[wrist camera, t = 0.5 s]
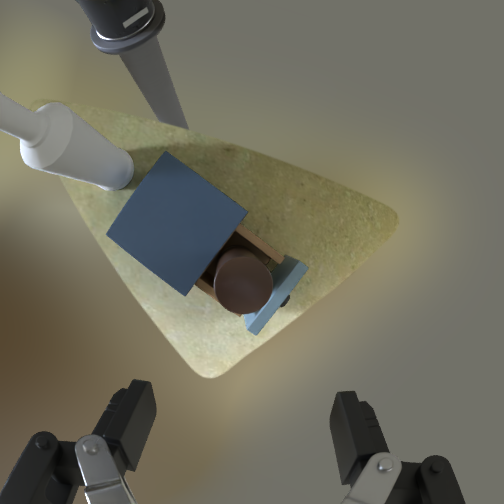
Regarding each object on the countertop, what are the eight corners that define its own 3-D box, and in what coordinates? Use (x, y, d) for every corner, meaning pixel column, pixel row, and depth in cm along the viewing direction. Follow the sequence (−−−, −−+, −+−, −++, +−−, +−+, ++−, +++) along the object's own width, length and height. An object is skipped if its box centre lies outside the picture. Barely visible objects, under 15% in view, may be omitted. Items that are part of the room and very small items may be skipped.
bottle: (126, 197, 33) (-26, 154, 8) (92, 185, 33) (-65, 138, 8) (142, 157, 33) (20, 53, 8) (107, 146, 32) (-27, 54, 8)
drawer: (301, 266, 35) (318, 275, 28) (258, 321, 35) (266, 342, 28) (235, 215, 34) (237, 213, 27) (191, 274, 34) (183, 285, 27)
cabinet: (242, 215, 35) (248, 211, 26) (194, 280, 35) (185, 296, 26) (178, 167, 33) (165, 150, 25) (131, 232, 34) (105, 234, 25)
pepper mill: (210, 255, 33) (202, 273, 20) (244, 237, 33) (256, 244, 20) (228, 287, 33) (231, 325, 20) (261, 270, 33) (283, 297, 20)
